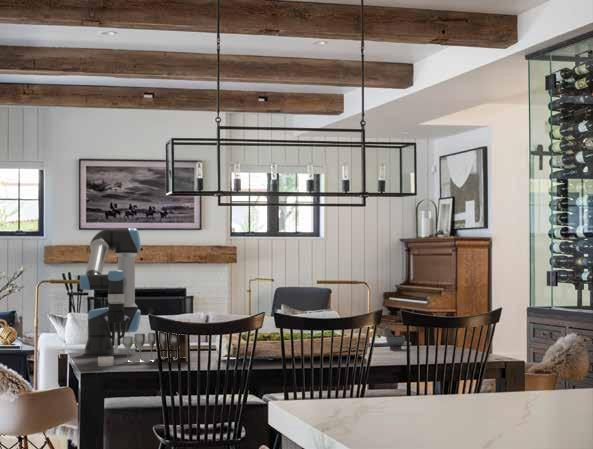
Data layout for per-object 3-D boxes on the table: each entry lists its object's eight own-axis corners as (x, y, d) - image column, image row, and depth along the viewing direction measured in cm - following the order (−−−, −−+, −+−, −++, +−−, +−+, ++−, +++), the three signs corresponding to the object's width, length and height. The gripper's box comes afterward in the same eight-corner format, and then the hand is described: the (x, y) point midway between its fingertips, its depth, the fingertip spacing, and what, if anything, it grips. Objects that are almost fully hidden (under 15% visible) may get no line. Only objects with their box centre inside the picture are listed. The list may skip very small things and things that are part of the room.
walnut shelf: (156, 358, 465) (156, 319, 465) (189, 358, 466) (189, 319, 467) (154, 363, 445) (154, 322, 446) (188, 363, 446) (188, 322, 447)
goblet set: (124, 363, 449) (123, 334, 449) (122, 361, 454) (121, 333, 455) (182, 360, 458) (182, 332, 459) (179, 359, 464) (179, 331, 464)
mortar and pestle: (404, 348, 504) (403, 325, 505) (406, 350, 495) (405, 327, 495) (382, 348, 504) (382, 325, 505) (384, 350, 495) (384, 327, 495)
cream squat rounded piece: (98, 365, 443) (98, 356, 443) (114, 364, 444) (114, 356, 444) (97, 366, 436) (97, 358, 436) (112, 366, 437) (112, 357, 437)
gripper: (101, 303, 450) (101, 353, 449) (129, 303, 451) (129, 353, 450) (103, 302, 457) (103, 352, 456) (130, 302, 458) (130, 351, 458)
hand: (116, 352), depth 453 cm, fingers closed
